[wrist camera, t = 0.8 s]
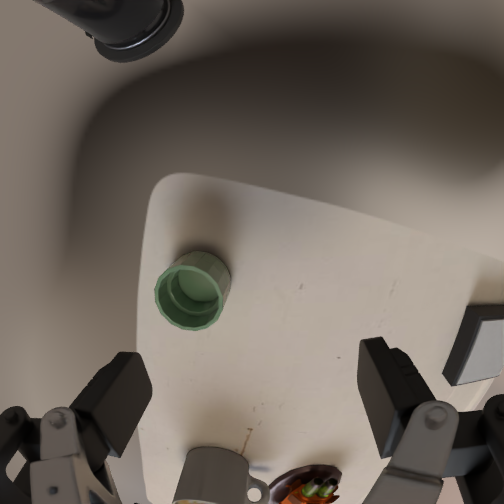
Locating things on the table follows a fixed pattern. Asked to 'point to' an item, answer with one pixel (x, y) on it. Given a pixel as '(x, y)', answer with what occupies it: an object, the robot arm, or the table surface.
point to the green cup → (193, 291)
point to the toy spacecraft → (306, 486)
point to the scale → (477, 346)
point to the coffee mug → (217, 479)
